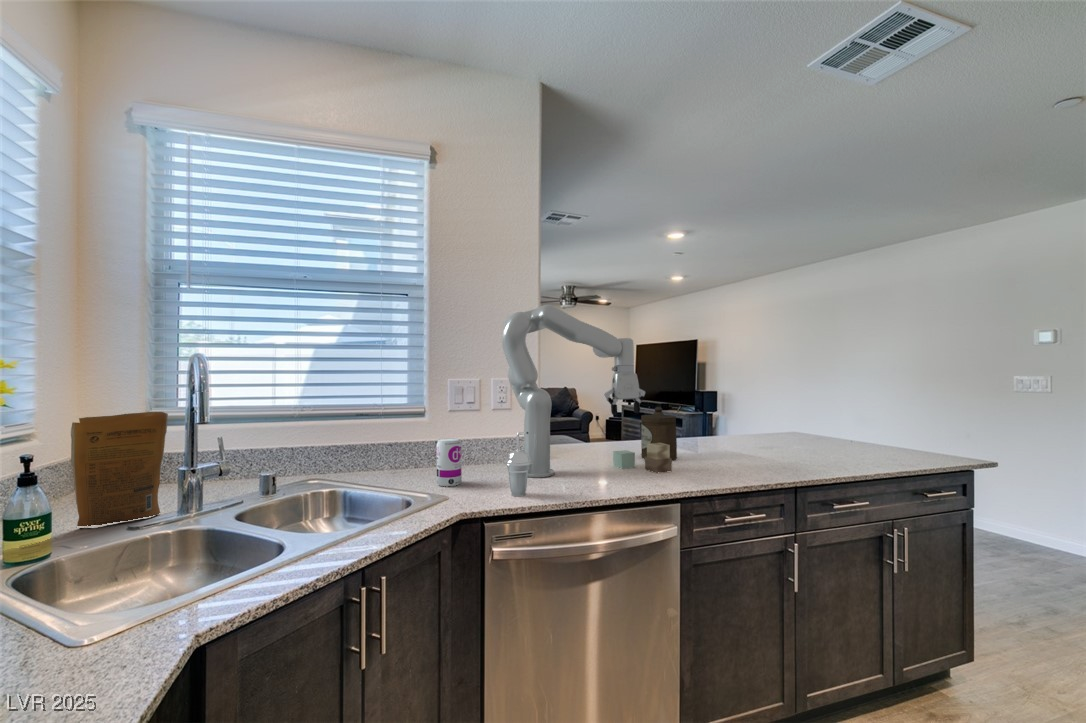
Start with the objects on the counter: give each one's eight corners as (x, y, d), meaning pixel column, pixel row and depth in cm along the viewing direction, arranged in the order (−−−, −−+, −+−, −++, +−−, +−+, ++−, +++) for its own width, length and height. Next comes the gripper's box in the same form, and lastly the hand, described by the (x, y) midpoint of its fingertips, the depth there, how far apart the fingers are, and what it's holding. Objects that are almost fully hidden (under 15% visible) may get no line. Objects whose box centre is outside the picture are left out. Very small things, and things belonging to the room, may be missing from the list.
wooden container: (640, 454, 218) (640, 405, 218) (674, 455, 216) (674, 405, 216) (642, 461, 204) (642, 408, 204) (679, 461, 202) (678, 408, 202)
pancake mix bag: (170, 516, 130) (170, 411, 130) (70, 535, 116) (71, 417, 116) (165, 511, 134) (165, 410, 135) (68, 528, 120) (69, 415, 121)
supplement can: (466, 483, 165) (466, 439, 165) (446, 488, 159) (446, 442, 159) (451, 480, 170) (451, 437, 171) (431, 484, 164) (431, 439, 165)
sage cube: (621, 469, 188) (621, 453, 188) (613, 466, 193) (613, 451, 193) (634, 467, 190) (634, 452, 190) (626, 465, 196) (626, 450, 196)
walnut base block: (656, 473, 180) (656, 459, 180) (645, 469, 187) (644, 456, 187) (671, 471, 183) (671, 458, 183) (659, 468, 190) (659, 455, 190)
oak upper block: (656, 459, 181) (656, 446, 181) (646, 456, 187) (646, 443, 187) (669, 458, 184) (669, 445, 184) (659, 455, 189) (659, 442, 189)
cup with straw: (530, 490, 156) (529, 427, 156) (534, 498, 147) (534, 431, 147) (503, 491, 154) (503, 428, 154) (506, 499, 145) (506, 432, 146)
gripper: (608, 370, 183) (610, 416, 183) (649, 369, 189) (650, 413, 189) (600, 370, 191) (601, 414, 190) (639, 369, 196) (640, 411, 196)
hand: (625, 413), depth 190 cm, fingers open, 9 cm apart
